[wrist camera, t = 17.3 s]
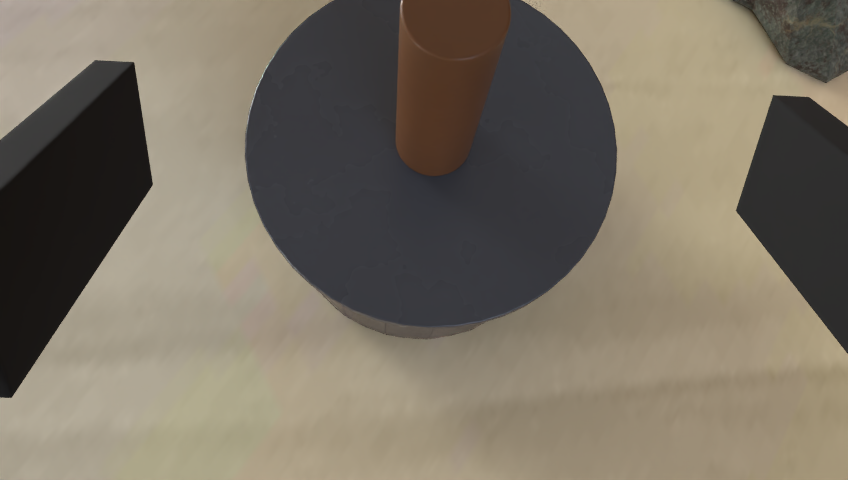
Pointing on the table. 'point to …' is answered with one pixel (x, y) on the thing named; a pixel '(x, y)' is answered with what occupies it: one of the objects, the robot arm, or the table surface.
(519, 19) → the lid
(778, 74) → the table surface
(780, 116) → the robot arm
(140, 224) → the table surface
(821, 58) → the sword in stone
